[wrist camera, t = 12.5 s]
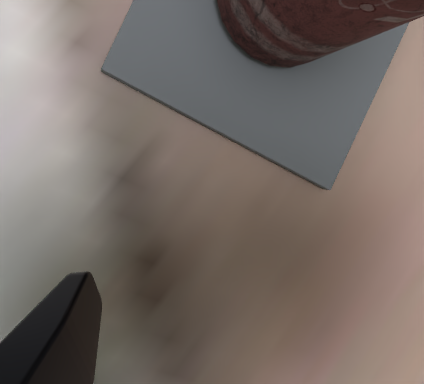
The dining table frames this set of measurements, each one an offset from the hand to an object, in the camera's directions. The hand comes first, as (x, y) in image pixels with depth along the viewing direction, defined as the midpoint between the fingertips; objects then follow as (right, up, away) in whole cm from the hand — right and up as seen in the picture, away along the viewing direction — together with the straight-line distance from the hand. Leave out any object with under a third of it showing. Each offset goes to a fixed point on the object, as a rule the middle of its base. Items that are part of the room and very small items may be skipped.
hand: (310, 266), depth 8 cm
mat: (+1, +10, +10) cm, 15 cm away
